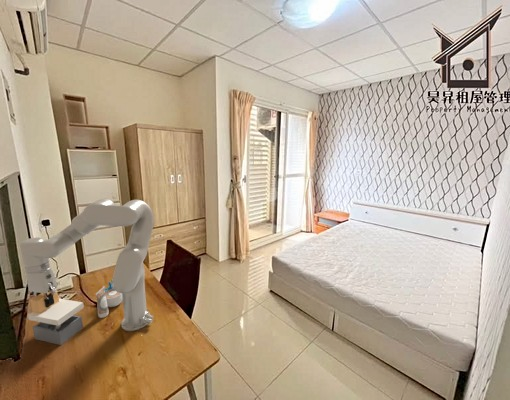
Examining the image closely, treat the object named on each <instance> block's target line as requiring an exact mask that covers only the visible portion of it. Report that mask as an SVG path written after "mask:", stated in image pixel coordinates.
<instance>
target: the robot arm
mask: <svg viewBox="0 0 510 400" xmlns="http://www.w3.org/2000/svg"><path fill="white" fill-rule="evenodd" d="M154 217H155V216H154V211H153V210H152V208H151V207H150V205H149V204H148V203H146V202H145V201H143V200H140V199H132V200H129V201H127V202H126V203H124V204H123V205H116V204H115V202H114V201H112V200H111V199H108V198H101V199H98V200H96V201H93V202H92V203H89V204H88V205H86V206H85V208H84V209H83V211H82V212H80V213H79V214H77V215H76V216H75V217H73V219H72V220H71V223H70V224H69V225H68V226H66V227H65V228H64V229H63V230H61V231H60V232H59V233H56V234H55V235H53V236H52V237H49V238H48V239H44V238H43V237H31V238H26V239H24V240H22V241H21V242H20V244H19V247H20V252H21V257H22V261H23V265H24V270H25V276H26V283H27V287H28V290H29V291H30V292H31V293H32V294H33V298H34V297H36V296H37V295H39V294H41V293H43V294H44V297H45V299H44V301H45V306H46V307H49V306H51V305H52V304H54V298H53V296H54V294H55V293H56V292H57V293H58V289H57V288H58V283H57V279H56V277H55V273H54V271H53V269H52V268H51V265H50V264H51V263H50V259H53V258H56V257H58V256H59V255H60V254H63V252H65V251H66V250H68V249H69V248H71V247H72V246H73V245H75V244H76V243H77V242H78V241H79V240H81V239H82V238H83V237H85V236H86V235H89V234H90V233H92V232H94V230H96V229H97V228H98V227H99V226H104V227H105V226H106V227H129V226H131V229H130V234H129V237H128V242H127V243H126V245H125V246H124V248H123V249H122V250H121V251H120V252H119V255H118V257H117V259H116V262H115V268H114V270H113V275H112V279H111V280H112V282H111V283H112V286H113V288H114V290H115V291H117V292H118V293H122V299H123V300H122V307H123V314H124V315H123V316H124V318H123V319H122V320H121V329H122V330H124V331H127V332H134V331H138V330H141V329H143V328H144V327H146V326H147V325H148V324H150V325H151V324H152V323H153V321H154V315H151V313H150V312H149V310H147V300H146V297H147V296H146V289H145V288H146V286H145V283H146V282H145V277H146V273H145V272H146V271H145V266H144V260H145V259H146V257H147V255H148V251H149V247H150V243H151V238H152V233H153V229H154V228H153V227H154V224H155V218H154ZM48 292H50V293H49V294H48V295H47V293H48Z"/></svg>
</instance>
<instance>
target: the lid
mask: <svg viewBox="0 0 510 400" xmlns="http://www.w3.org/2000/svg"><path fill="white" fill-rule="evenodd" d="M49 293H50V292H48V293H47V295H48V294H49ZM53 298H54V304H52V305H51V306H49V307H46V306H45V301H44V299H45V297H44V294H43V293H41V294H39V295H37V296H36V297H34V296H33V297H32V298H30V299H29V301H30V306H31V311H32V312H29V313H28V314H27V319H28V320H29V321H32V322H38V323H40V322H42V323H47V324H52V325H57V326H59V325H60V324H62V323H63V322H64V321H66V320H67V319H69V318H70V317H71V316H73V315H76V314H77V313H78V312H80V311H81V310H82V309H84V308H85V306H84V302H83V301H82V302H81V301H76V300H71V299H64V298H60V297H59V293H58V291H57V292H56V293H55V294H54V296H53Z"/></svg>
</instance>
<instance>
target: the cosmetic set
mask: <svg viewBox="0 0 510 400" xmlns="http://www.w3.org/2000/svg"><path fill="white" fill-rule="evenodd" d="M105 289H106V287H105V285H103V287H102V288H100V289H99V290H98V291H97V292H96V293H95V297H96V302H97V303H96V304H97V306H96V307H97V317H98V318H100V319H103V318H106V317H107V316H108V315H109V313H110V312H109V308H114V307H117V306H119V305H120V304H121V303H123V299H122V293H118V292H117V291H115V290H114V288H113V289H110V290H108V291H106V292H105Z"/></svg>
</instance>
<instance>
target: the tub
mask: <svg viewBox="0 0 510 400" xmlns="http://www.w3.org/2000/svg"><path fill="white" fill-rule="evenodd" d="M83 328H84V325H83V317H82V316H81V315H76V314H74V315H73V316H71V317H70V318H69V319H67V320H66V321H64V322H63V323H62V324H60V325H59V326H57V325H52V324H47V323H42V322H38V323H37V324H35V325H33V326H32V331H33V336H34V339H35V340H37V341H42V342H46V343H51V344H55V345H59V346H63V344H65V343H66V342H67V341H68V340H70V339H71V338H72V337H74V335H76V334H77V333H78V332H80V331H81V330H82V329H83Z"/></svg>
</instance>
